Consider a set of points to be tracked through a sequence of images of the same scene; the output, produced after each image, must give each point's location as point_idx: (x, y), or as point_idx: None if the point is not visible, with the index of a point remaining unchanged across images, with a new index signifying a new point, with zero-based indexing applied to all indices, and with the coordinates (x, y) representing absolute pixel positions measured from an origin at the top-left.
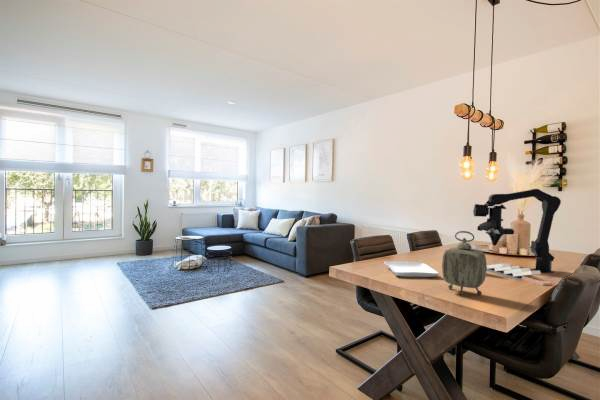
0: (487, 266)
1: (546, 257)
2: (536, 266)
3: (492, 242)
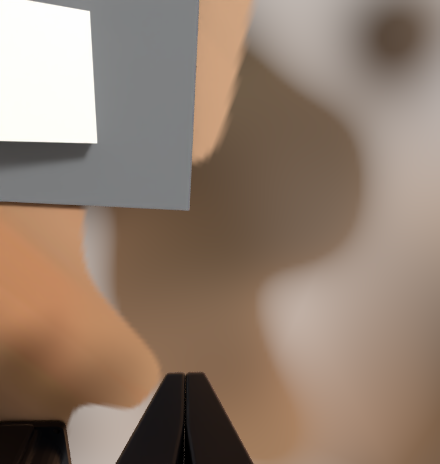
0: (73, 9)
1: None
2: (12, 447)
3: (217, 424)
